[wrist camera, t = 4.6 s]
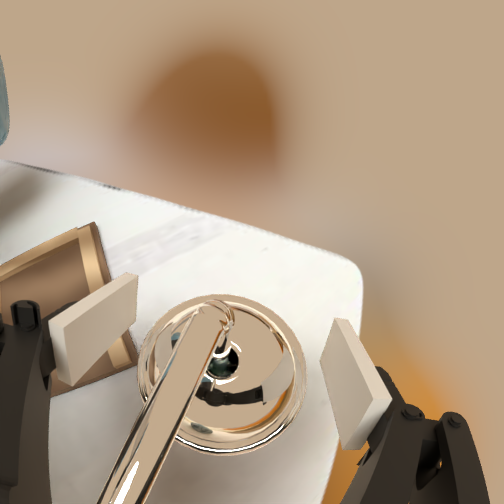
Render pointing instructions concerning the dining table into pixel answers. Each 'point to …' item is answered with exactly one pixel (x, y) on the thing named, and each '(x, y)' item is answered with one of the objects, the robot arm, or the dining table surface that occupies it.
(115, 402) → the dining table surface
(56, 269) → the brown flat square tray
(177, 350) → the cup with straw
